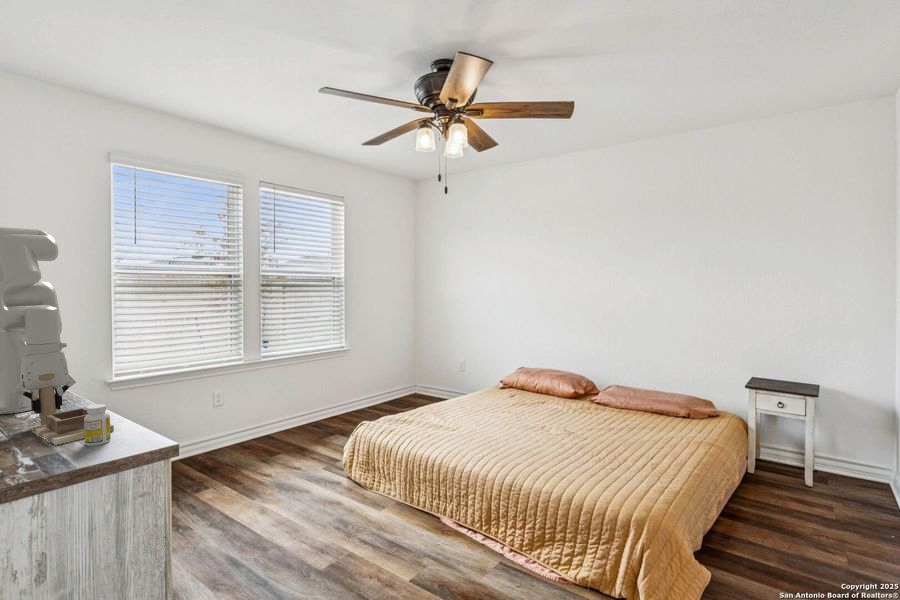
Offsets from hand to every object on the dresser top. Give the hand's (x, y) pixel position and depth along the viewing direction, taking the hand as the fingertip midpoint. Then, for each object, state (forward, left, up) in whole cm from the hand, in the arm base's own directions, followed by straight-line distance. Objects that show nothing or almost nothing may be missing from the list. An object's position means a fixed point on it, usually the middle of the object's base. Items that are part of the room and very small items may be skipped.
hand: (47, 410), depth 134 cm
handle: (0, 0, -4) cm, 4 cm away
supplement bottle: (+31, +2, -4) cm, 31 cm away
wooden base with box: (+15, +2, -4) cm, 16 cm away
